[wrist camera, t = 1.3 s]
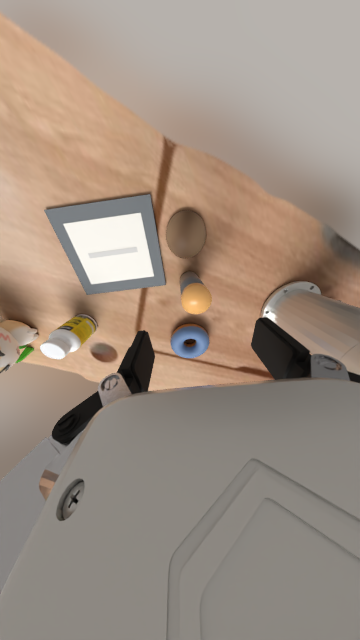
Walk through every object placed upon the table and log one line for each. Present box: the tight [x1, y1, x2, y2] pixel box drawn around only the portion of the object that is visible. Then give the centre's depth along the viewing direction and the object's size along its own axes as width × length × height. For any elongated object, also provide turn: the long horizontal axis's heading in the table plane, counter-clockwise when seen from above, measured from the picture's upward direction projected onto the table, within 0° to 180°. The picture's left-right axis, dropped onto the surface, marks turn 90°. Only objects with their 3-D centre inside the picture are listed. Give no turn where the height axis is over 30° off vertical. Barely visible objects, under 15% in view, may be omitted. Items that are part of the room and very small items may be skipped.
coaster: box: [166, 210, 206, 258], centre depth 23 cm, size 7×7×1 cm
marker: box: [180, 271, 212, 314], centre depth 22 cm, size 4×4×11 cm
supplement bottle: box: [40, 314, 97, 359], centre depth 27 cm, size 5×5×10 cm
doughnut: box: [171, 324, 209, 358], centre depth 33 cm, size 10×10×5 cm
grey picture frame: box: [44, 194, 166, 295], centre depth 23 cm, size 17×14×1 cm
